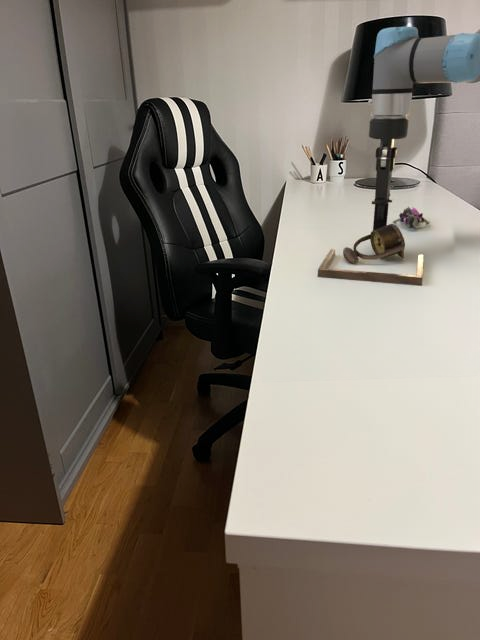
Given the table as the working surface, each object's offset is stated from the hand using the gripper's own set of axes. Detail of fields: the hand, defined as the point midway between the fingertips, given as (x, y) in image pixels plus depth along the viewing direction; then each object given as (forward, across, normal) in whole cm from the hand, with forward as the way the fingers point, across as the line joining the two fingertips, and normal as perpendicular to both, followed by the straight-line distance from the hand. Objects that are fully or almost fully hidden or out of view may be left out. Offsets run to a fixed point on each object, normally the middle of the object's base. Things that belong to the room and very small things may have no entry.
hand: (379, 233), depth 109 cm
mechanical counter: (+4, +6, 0) cm, 7 cm away
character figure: (+4, -27, +6) cm, 28 cm away
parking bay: (+4, +12, 0) cm, 13 cm away
